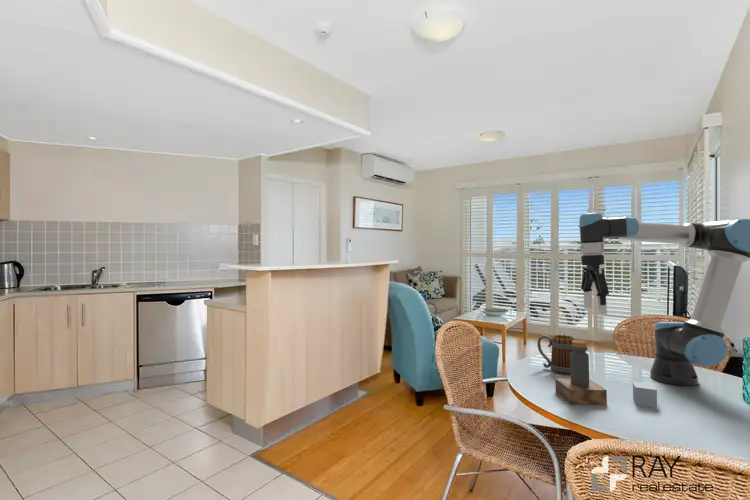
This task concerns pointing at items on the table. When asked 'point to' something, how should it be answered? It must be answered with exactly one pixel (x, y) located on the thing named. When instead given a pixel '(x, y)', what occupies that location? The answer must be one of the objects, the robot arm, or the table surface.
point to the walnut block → (581, 392)
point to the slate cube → (645, 394)
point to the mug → (558, 353)
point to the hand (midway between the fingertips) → (595, 311)
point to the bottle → (579, 364)
